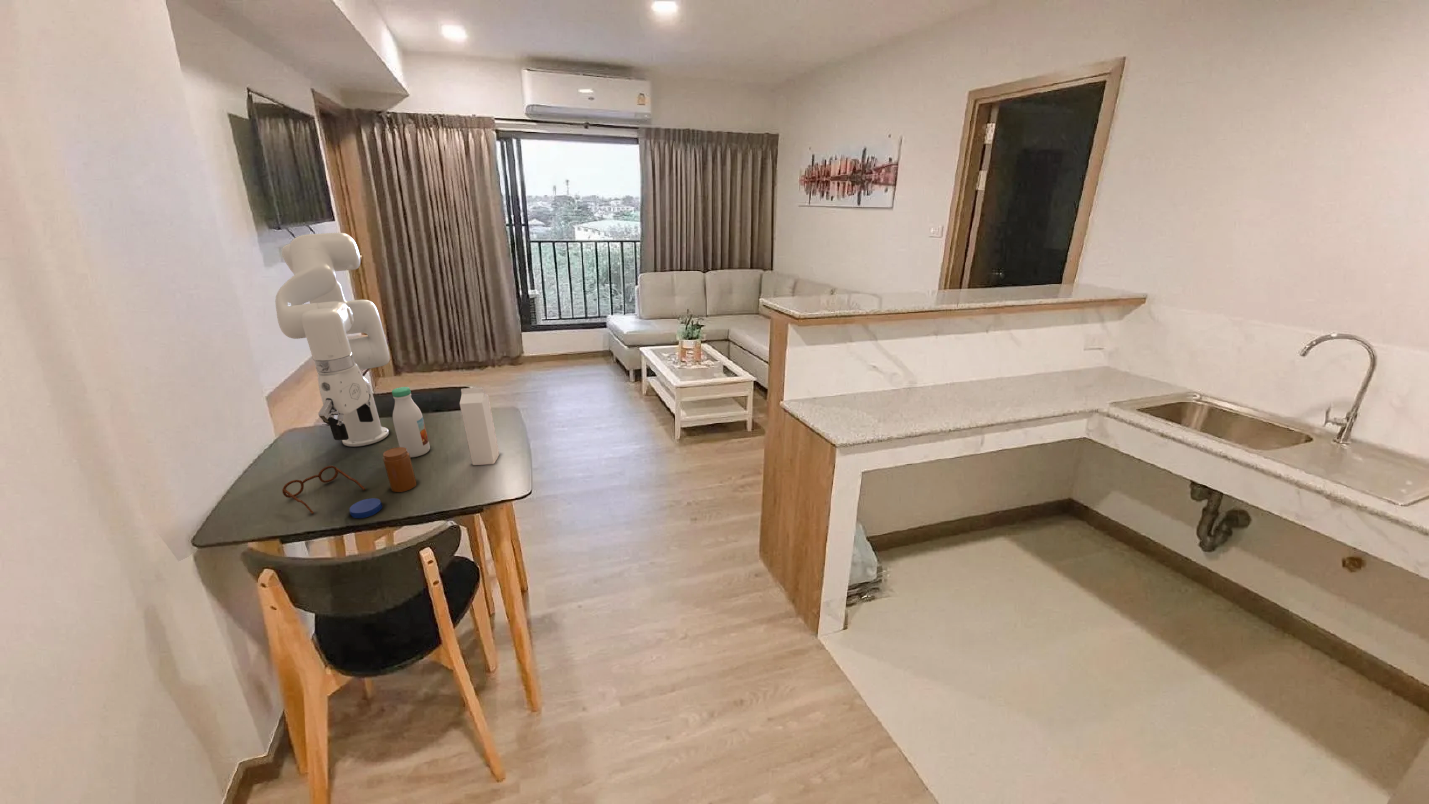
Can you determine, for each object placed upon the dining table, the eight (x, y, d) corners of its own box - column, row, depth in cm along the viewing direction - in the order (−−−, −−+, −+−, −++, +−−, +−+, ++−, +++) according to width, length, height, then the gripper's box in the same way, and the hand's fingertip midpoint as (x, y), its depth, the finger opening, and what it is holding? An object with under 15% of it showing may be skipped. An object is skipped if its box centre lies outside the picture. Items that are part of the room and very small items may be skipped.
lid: (372, 518, 133) (370, 513, 132) (344, 518, 133) (342, 513, 132) (387, 503, 139) (386, 497, 138) (361, 503, 139) (360, 498, 138)
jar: (387, 487, 146) (377, 453, 142) (409, 478, 150) (400, 444, 146) (398, 494, 142) (388, 459, 139) (421, 484, 147) (412, 450, 143)
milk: (478, 455, 162) (464, 384, 154) (500, 454, 162) (486, 383, 154) (472, 465, 156) (456, 392, 148) (494, 464, 157) (480, 391, 148)
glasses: (339, 478, 151) (333, 462, 149) (366, 490, 145) (361, 473, 143) (285, 501, 140) (278, 484, 139) (311, 515, 134) (305, 497, 132)
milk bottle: (418, 459, 160) (402, 394, 153) (395, 457, 162) (378, 393, 154) (436, 447, 167) (421, 385, 160) (413, 445, 169) (398, 383, 161)
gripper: (325, 376, 119) (347, 447, 126) (373, 351, 135) (390, 415, 142) (291, 376, 120) (314, 447, 126) (343, 351, 135) (361, 415, 142)
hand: (354, 430), depth 134 cm, fingers open, 9 cm apart
